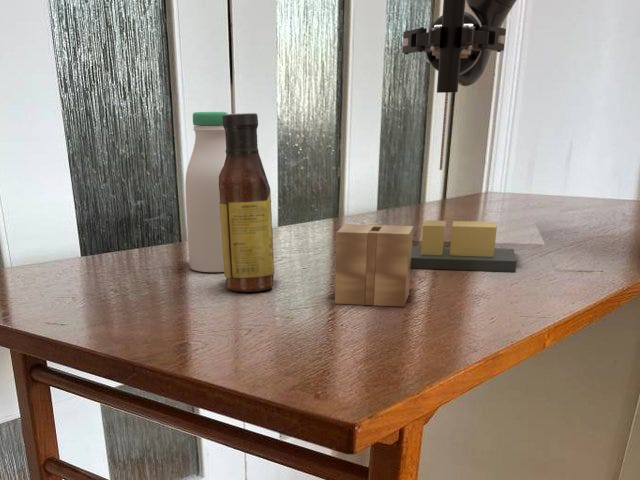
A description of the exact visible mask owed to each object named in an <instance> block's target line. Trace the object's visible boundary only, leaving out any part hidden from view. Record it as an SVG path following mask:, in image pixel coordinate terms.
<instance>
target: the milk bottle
mask: <svg viewBox="0 0 640 480" xmlns="http://www.w3.org/2000/svg"><path fill="white" fill-rule="evenodd" d="M225 114H228V112H226V111H196V112H193V113H192V125H193V131H194V133H195V134H194V135H195V136H194V137H195V138H194V145H193V149H192V153H191V156H190V159H189V161H188V165H187V166H186V172H185V184H184V187H185V188H184V189H185V190H184V191H185V211H186V212H185V215H186V231H187V249H188V263H189V267H190V269H191V270H193V271H196V272H202V273H224V262H223V248H222V233H221V219H220V206H219V202H220V191H219V175H220V172H221V170H222V168H223V166H224V163H225V160H226V152H225V151H226V136H225V129H224V127H223V115H225Z"/></svg>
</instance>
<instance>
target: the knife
mask: <svg viewBox="0 0 640 480" xmlns="http://www.w3.org/2000/svg"><path fill="white" fill-rule="evenodd" d="M465 10H466V0H443V1H442V14H441V16H442V31H441V44H440V55H439V68H438V71H437V83H436V93H438V94H439V93H440V94H442V93H443V94H445V96H444V107H443V121H442V133H441V144H440V145H441V147H440V158H439V159H440V160H439V171H442V170H443V168H444V155H445V145H446V131H447V130H446V129H447V120H448V119H447V118H448V106H449V105H448V104H449V95H450V94H449V93H453V94H454V93H458V91H459V84H458V82H459V71H460V59H461V37H462V26H463V24H464V12H466V11H465Z"/></svg>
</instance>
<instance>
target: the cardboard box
mask: <svg viewBox="0 0 640 480" xmlns="http://www.w3.org/2000/svg"><path fill="white" fill-rule="evenodd" d="M335 233H336V234H335V235H336V237H335V238H336V240H335V279H334V280H335V281H334V304H335V305H336V304H337V305H355V306H356V305H357V306H375V307H399V308H405V306H406V303H407V301H408V298H409V296H410V281H411V270H412V268H411V254H412V246H413V238H414V237H413V236H414V226H413V225H389V224H387V225H386V224H384V225H383V224H344V225H343V226H341V228H340V229H338V230H337V231H336V232H335Z"/></svg>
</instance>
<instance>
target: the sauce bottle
mask: <svg viewBox="0 0 640 480" xmlns="http://www.w3.org/2000/svg"><path fill="white" fill-rule="evenodd" d="M258 119H259V117H258V114H257V112H243V113H241V112H240V113H227V114H225V115H223V127H224V129H225V136H226V151H225V152H226V160H225V163H224V166H223V168H222V170H221V172H220V175H219V191H220V202H219V206H220V219H221V233H222V248H223V262H224V272H223V273H224V278H225V286H226V289H228V290H231V291H233V292H235V293H237V292H239V293H257V292H262V291H267V290H270V289H271V288H273V286H274V284H275V283H274V281H275V280H274V277H275V275H274V274H275V260H274V257H275V256H274V231H273V215H272V214H273V212H272V195H271V194H272V193H271V192H272V191H271V187H270V184H269V180H268V177H267V175H266V171H265V168H264V165H263V162H262V159H261V156H260V152H259V148H258V145H259V144H258V126H259V120H258Z"/></svg>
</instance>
